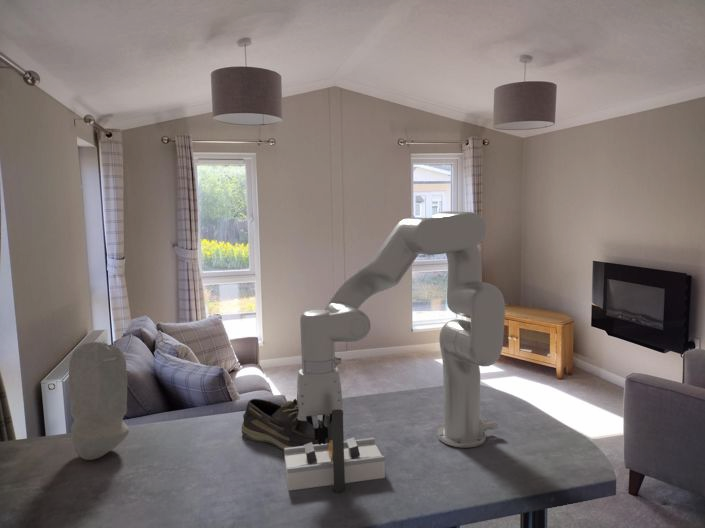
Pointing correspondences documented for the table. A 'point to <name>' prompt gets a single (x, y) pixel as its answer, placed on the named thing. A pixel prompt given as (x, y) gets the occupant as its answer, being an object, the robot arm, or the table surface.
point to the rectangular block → (331, 448)
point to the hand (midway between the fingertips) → (321, 441)
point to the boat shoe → (276, 424)
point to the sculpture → (97, 398)
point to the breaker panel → (322, 469)
